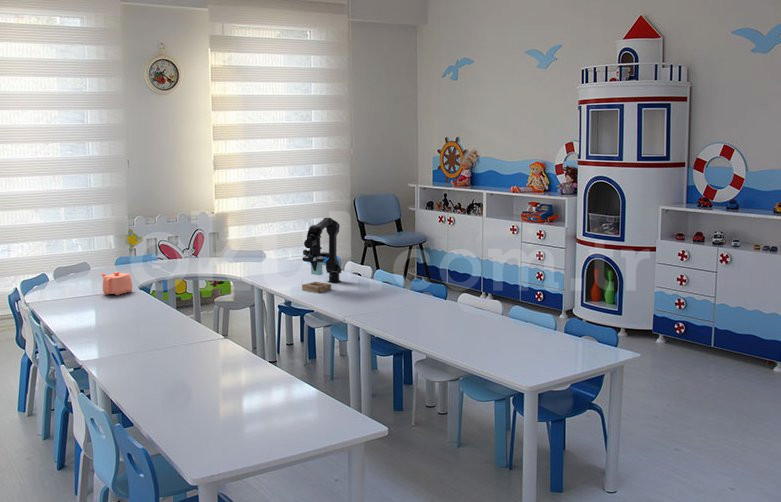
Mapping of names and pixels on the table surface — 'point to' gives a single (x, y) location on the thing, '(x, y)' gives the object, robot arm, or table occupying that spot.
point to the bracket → (317, 269)
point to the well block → (316, 287)
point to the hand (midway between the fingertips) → (316, 270)
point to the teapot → (116, 283)
